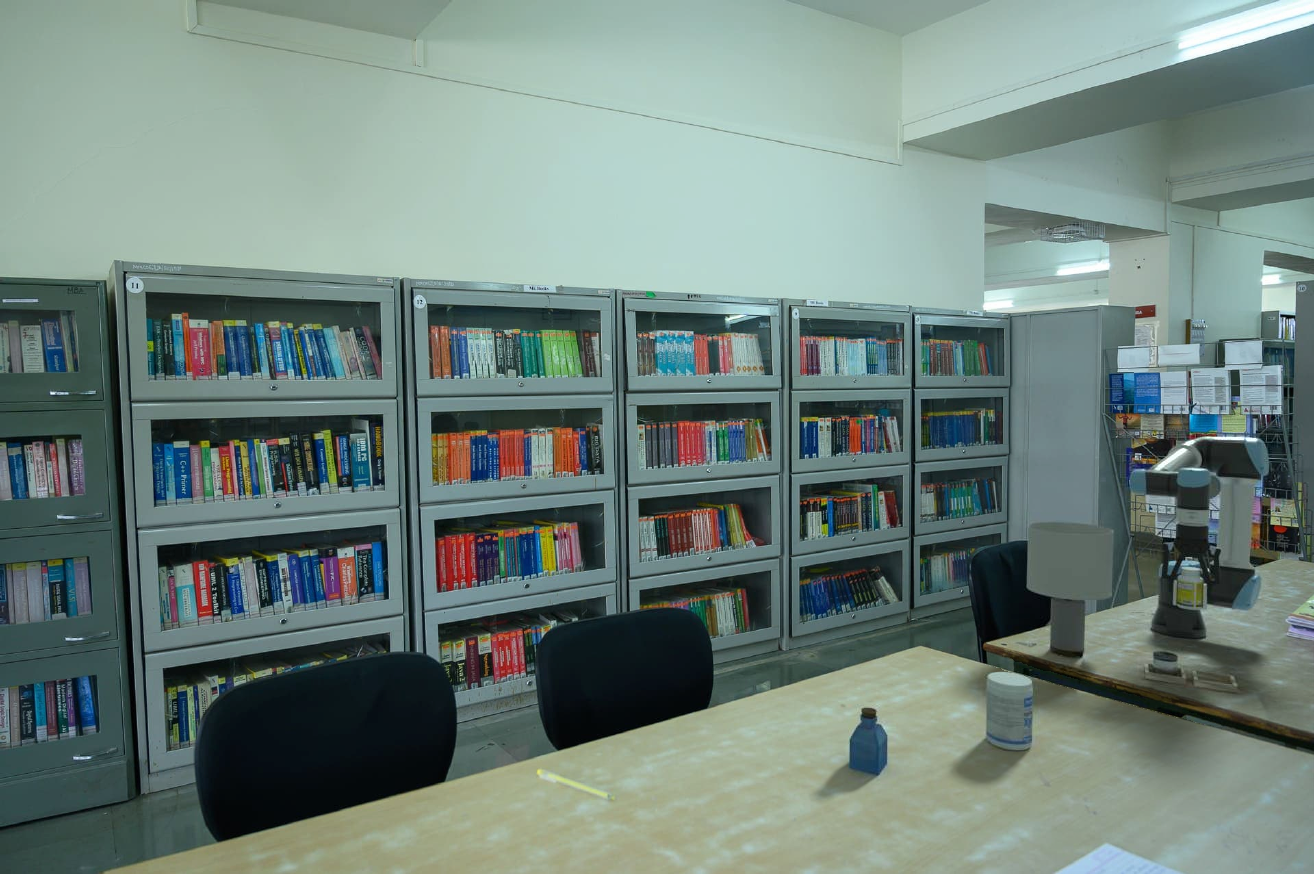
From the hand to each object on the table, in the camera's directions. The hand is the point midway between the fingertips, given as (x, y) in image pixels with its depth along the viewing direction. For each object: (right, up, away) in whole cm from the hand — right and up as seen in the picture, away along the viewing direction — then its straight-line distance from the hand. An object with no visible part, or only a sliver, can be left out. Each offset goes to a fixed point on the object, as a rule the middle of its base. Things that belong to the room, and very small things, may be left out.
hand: (1189, 605), depth 220 cm
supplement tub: (-70, -22, -42) cm, 84 cm away
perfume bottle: (-104, -23, -53) cm, 119 cm away
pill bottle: (0, -1, 0) cm, 1 cm away
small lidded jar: (-10, -18, -5) cm, 21 cm away
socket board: (-5, -20, -8) cm, 22 cm away
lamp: (-24, -18, +19) cm, 36 cm away
